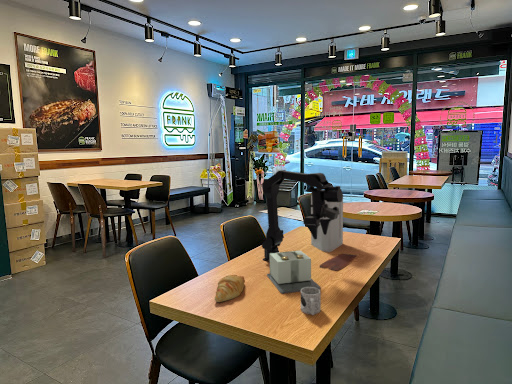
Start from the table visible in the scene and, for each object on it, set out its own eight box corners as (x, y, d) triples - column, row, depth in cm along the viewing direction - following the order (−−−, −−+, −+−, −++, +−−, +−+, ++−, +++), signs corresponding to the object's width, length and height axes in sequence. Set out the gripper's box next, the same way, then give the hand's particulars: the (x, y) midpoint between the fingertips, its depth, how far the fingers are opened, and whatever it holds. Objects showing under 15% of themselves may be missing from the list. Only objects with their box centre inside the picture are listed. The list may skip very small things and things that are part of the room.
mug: (299, 305, 119) (299, 287, 118) (319, 305, 119) (319, 286, 118) (302, 319, 109) (302, 299, 108) (323, 319, 109) (323, 299, 108)
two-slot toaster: (269, 273, 147) (269, 253, 146) (300, 270, 150) (300, 250, 149) (278, 284, 135) (277, 262, 134) (311, 280, 139) (311, 258, 137)
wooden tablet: (338, 273, 150) (338, 269, 150) (317, 268, 156) (317, 265, 156) (360, 257, 171) (360, 253, 171) (341, 253, 177) (341, 250, 177)
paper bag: (319, 240, 202) (318, 193, 199) (343, 243, 194) (343, 194, 190) (304, 248, 187) (304, 197, 183) (330, 252, 178) (330, 199, 175)
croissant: (223, 315, 120) (232, 297, 118) (201, 299, 123) (209, 281, 120) (248, 290, 140) (256, 275, 137) (228, 277, 142) (235, 261, 140)
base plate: (266, 275, 148) (266, 250, 146) (301, 271, 151) (301, 247, 150) (281, 293, 128) (280, 265, 127) (320, 288, 132) (320, 261, 131)
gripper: (325, 205, 137) (327, 243, 138) (344, 199, 152) (346, 233, 153) (301, 204, 144) (303, 241, 145) (322, 199, 159) (323, 232, 160)
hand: (320, 236), depth 151 cm, fingers open, 9 cm apart
